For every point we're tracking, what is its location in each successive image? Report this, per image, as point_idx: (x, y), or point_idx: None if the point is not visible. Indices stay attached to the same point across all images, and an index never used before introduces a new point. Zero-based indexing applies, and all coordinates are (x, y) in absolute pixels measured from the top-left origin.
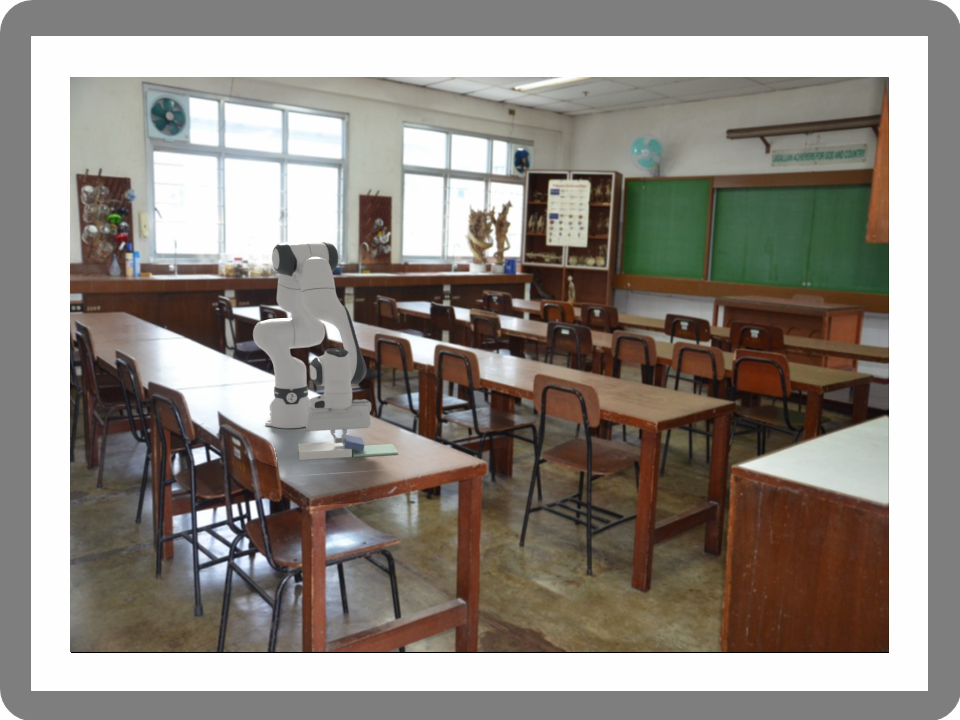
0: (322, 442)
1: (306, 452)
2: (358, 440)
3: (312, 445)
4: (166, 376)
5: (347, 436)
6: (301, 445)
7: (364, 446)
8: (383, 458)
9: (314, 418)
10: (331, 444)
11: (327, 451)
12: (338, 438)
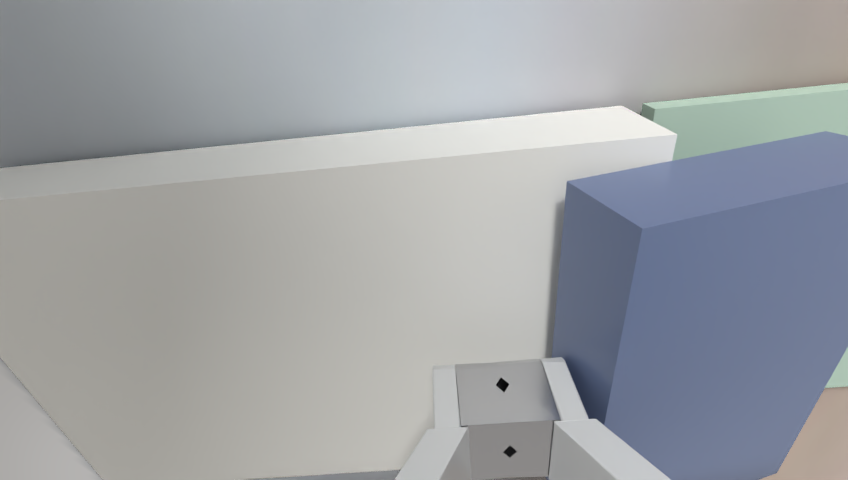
0: (242, 181)
1: (175, 478)
2: (784, 377)
3: (144, 312)
4: None
5: (678, 324)
6: None
7: (842, 132)
8: (820, 419)
9: None
10: (394, 292)
11: (369, 464)
12: (501, 473)
